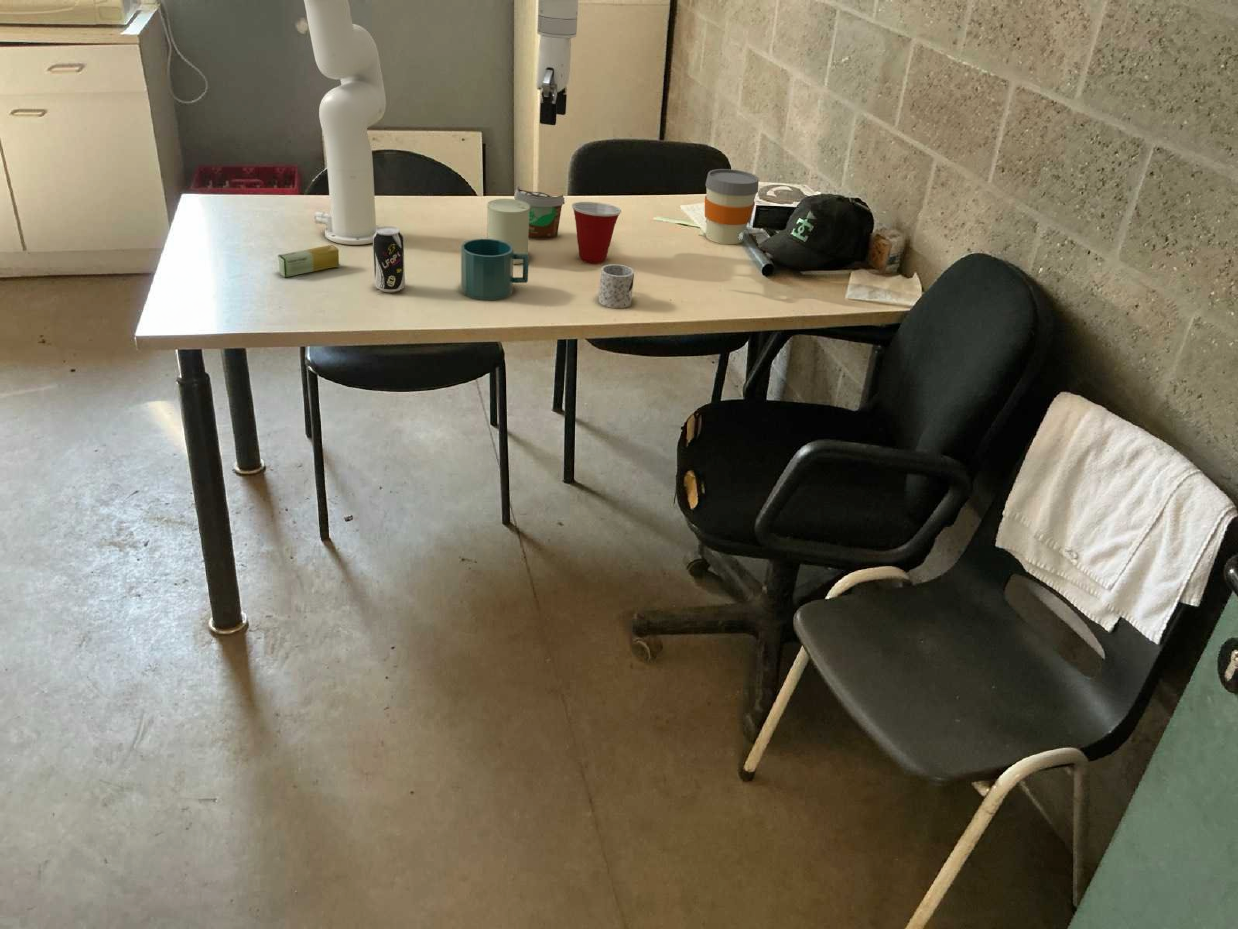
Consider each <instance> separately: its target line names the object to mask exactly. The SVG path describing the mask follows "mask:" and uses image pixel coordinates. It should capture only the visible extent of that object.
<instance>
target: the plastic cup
mask: <svg viewBox="0 0 1238 929" xmlns="http://www.w3.org/2000/svg"><path fill="white" fill-rule="evenodd" d="M571 208H572V210H573V215H574V220H575V230H576V242H577V247H578V256H579V260H580V261H582V262H584V263H586V264H590V265H591V264H592V265H598V264H603V263H604V262H606V259H607V257H608V252H609V249H610V246H611V243H612V238H613V234H614V230H615V226H616V224H617V221H618V218H619V216H620V215H621V213H622V209H621V208H620V207H617V206H615V205H613V204H609V203H604V202H596V201H577V202H573V203H572V204H571Z"/></svg>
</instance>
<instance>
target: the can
mask: <svg viewBox="0 0 1238 929" xmlns="http://www.w3.org/2000/svg"><path fill="white" fill-rule="evenodd" d="M486 208H487V210H486V211H487V212H486V213H487V224H486V225H487V226H486V227H487V229H486V230H487V232H486V234H487V235H486V236H487V237H486V239H495V240H501V241H504V242H507V243H509V244H510V245H512V246H513V249H514V254H528V255H529V238H528V235H529V212H530V205H529V204H528V203H526V202H523V201H520V200H515V199H514V198H496V199H492V200H490V201H488V202H487V204H486ZM519 264H520V265H521V264H523V259H513V265H519Z"/></svg>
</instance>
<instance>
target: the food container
mask: <svg viewBox="0 0 1238 929" xmlns="http://www.w3.org/2000/svg"><path fill="white" fill-rule="evenodd" d="M520 186H521V185H517V187H516V189H515V191H514V196H513V199H515V200H520V201H523V202H526V203H528V204H529V205H530V212H529V235H528V239H534V240H549V239H554V238H557V237H558V234H559V227H560V220H561V216H562V215H561V214H562V207H563V205H565V204H566V201H565V197H564V194H561V195H557V196H556V195H555V196H553V195H549V194H547V193H545V192H541V191H528V190H524V189H521V187H520Z"/></svg>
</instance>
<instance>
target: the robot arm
mask: <svg viewBox="0 0 1238 929" xmlns="http://www.w3.org/2000/svg"><path fill="white" fill-rule="evenodd" d="M537 1H538V2H537V4H538V5H537V28H536V29H537V30H536V33H537V35H538V36H539V35H540V39H539V47H538V48H539V49H538V54H537V56H538V57H537V69H536V82H535V83H536V84H535V87H536V89H537V90H538V91H541V94H540V95H541V96H540V105H539V124H541V125H548V126H555V125H557V115H559V116H565V115H566V114H567V98H568V93H567V92H568V89H567V87H568V84H569V83H570V82H569V81H570V75H571V74H570V73H571V57H572V56H571V53H572V52H571V51H572V39H573V38H574V39H575V38H576V37H577V32H578V31H577V29H578V28H577V27H578V15H579V14H578V11H579V0H537ZM303 3H304V8H305V13H306V19H307V20H306V21H307V24H308V29H309V35H310V41H311V46H312V50H313V51H312V52H313V56H314V60H315V63H316V67H317V68H318V70H319V72H320V73H321V74H322V75H323V76H324V77H326V78H328V79H331V80H340V85H338V86H336V87H334V88H332V89H330V90H329V91H327V92H326V93H325V94H324V96H323V97H322V99H321V101H320V104H319V109H318V117H319V122H320V126H321V130H322V135H323V141H324V146H325V156H326V157H325V158H326V167H327V168H326V169H327V182H328V195H329V208H330V211H329V212H328V213H325V212H321V211H315V213H314V220H315V221H314V222H315V224H320V225H325V226H326V228H325V229H324V237H325V238H326V239H327V240H329V241H331V242H333V243H338V244H341V245H354V246H355V245H356V246H359V245H367V244H373V236H374V235H375V233H376V229H377V228H379V227H380V226H379V225H377V219H376V218H377V217H376V216H377V215H376V198H375V178H374V177H375V176H374V160H373V151H372V150H373V149H372V145H371V141H370V138H369V135H368V134H369V133H368V128H370V127H371V126H374V125H375V124H377V123H378V122H379V121H381V119H382V118H383V116H384V114H385V112H386V108H387V98H386V90H385V85H384V78H383V72H382V68H381V61H380V54H379V50H378V47H377V44H376V42H375V40H374V38H373V37H372V35H371V34H370V32H369V31H368V30H367V29H366V28H364V27H363V26H361V25H359V24H356V23H353V19H352V15H351V6H350V3H349V0H303Z"/></svg>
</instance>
